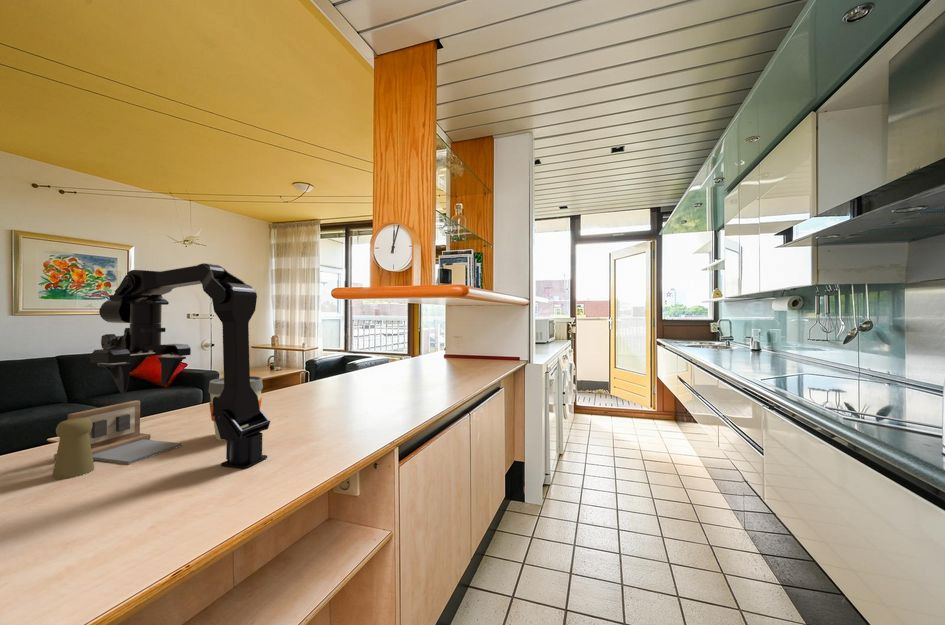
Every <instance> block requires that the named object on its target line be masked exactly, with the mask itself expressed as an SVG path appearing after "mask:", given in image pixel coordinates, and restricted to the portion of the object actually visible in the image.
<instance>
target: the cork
mask: <svg viewBox="0 0 945 625" xmlns="http://www.w3.org/2000/svg"><path fill="white" fill-rule="evenodd" d="M92 425H93V423H92V421H91V420H90V419H88V418H74V419H69V420H68V419H66V420H62V421H60V422H59V423H58V424H57V426H56V428H55V434H56V435H57V437H58V438H59V441H58V446H57V447H58V448H57V451H56V454H57V455H56V460H55V461H54V466H53V470H52V476H51V478H52V479H53V478H54V480H65V479H66V478H67V479H72V478H76V476H78V477H81V476H84V475H83V474H85V475H87V474H89V472H90V473H92V472H93V471H94V470H95V469H94V468H95V464H94V460H93V456H92V450H91V444H90V438H89V432H90V431H91V430H92ZM91 471H92V472H91ZM86 473H87V474H86ZM80 475H81V476H80ZM67 479H66V480H67Z"/></svg>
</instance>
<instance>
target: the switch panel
mask: <svg viewBox="0 0 945 625" xmlns="http://www.w3.org/2000/svg"><path fill="white" fill-rule="evenodd" d="M74 418H88V419H90V420H91V421H92V423H93V425H92V430H91V431H90V432H89V438H90V444H91V450H92V455H93V454H97V453H100V452H103V451H107V450H110V449H113V448H117V447H120V446H123V445H127V444H130V443H133V442H136V441H140V440H143V439H147V440H148V439H149V440H151V439H150V438H151V436H152V435H151V434H150V433H141V400H137V399H136V400H130V401H126V402H121V403H116V404H111V405H106V406H101V407H96V408H92V409H86V410H82V411H76V412H73V413H68V414H67V420H69V419H74ZM56 455H57V453H54V454H53V460H54V459H56Z"/></svg>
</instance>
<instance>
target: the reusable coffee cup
mask: <svg viewBox="0 0 945 625" xmlns="http://www.w3.org/2000/svg"><path fill="white" fill-rule="evenodd" d="M250 386H251V387H252V389H253V390H254V392H255V393H256V395H257V396H258V402H259V407H260V408H261V407H262V406H261V405H262V399H263V398H262V397H261V395H262V390H263V388H264V385H263V377H261V376H255V375H250ZM223 389H224V377H220V378H216V379H215V378H214V379H211V380H210V381H209V386H208V391H207V392H208V394H209V395H210V396H209V398H210V402H209V403H208V404H209V411H210V417H211V418H210V419H211V421H212V422H213V425H214V434H215V439H216V440H217V439H218V441H222V440H224V439H221V438H220V435H219V431H218V428H217V424H216V422H215V416H212V414H213V402H212V401H213V398H214V397H216V396H220V395H221V393H222V391H223ZM247 426H249V425H248V424H247V425H244V426H241V429H242V428H245V427H247ZM224 441H225V442H227V441H226V440H224Z"/></svg>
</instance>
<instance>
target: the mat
mask: <svg viewBox="0 0 945 625" xmlns="http://www.w3.org/2000/svg"><path fill="white" fill-rule="evenodd" d="M179 446H180V447H182V446H183V442H173V441H164V440H155V439H149V440H147V439H143V440H140V441H136V442H133V443H130V444H127V445H123V446H120V447H117V448H113V449H110V450H107V451H103V452H100V453H97V454H93V455H92V456H93V461H98V460H100V461H99V462H106V461H109V462H108V463H115V464H123V463H124V464H123V465H130V464H134V463H137V462H140V461H142V459H143V460H145V458H146V459H147V458H151V457H154V456H157V455H160V454H162V452H163V453H164V452H165V451H166V452H168V451H170V449H171V450H174V449H176V447H177V448H179ZM173 448H174V449H173ZM167 450H168V451H167ZM159 453H160V454H159ZM156 454H157V455H156ZM153 455H154V456H153ZM150 456H151V457H150ZM139 460H140V461H139ZM136 461H137V462H136Z"/></svg>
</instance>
